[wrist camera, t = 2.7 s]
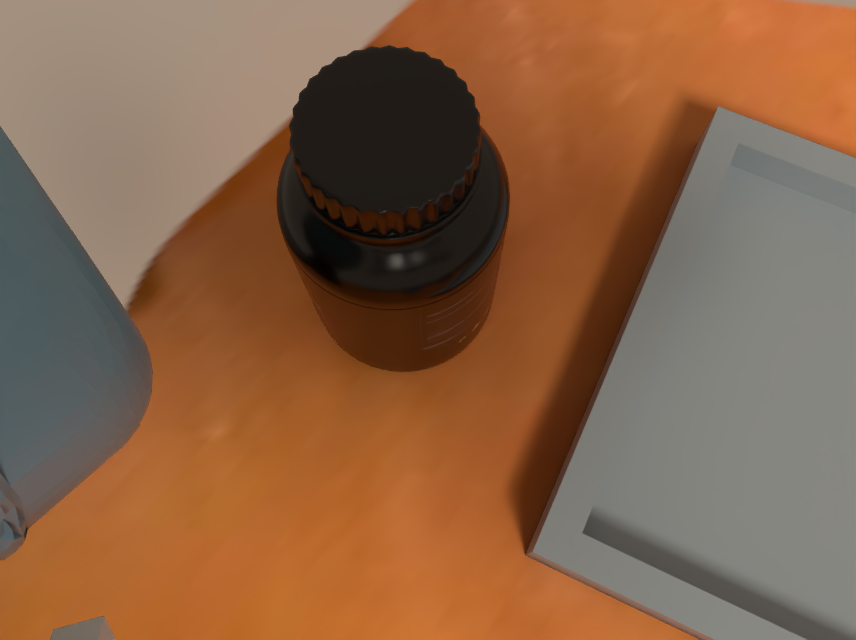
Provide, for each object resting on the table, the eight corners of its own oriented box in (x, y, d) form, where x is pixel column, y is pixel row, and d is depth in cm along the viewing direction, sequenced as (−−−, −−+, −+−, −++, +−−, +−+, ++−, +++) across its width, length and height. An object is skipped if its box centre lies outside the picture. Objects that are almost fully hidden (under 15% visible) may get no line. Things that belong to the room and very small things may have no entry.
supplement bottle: (280, 306, 31) (185, 141, 20) (393, 181, 33) (365, -38, 21) (419, 415, 29) (403, 305, 18) (529, 278, 31) (578, 99, 20)
